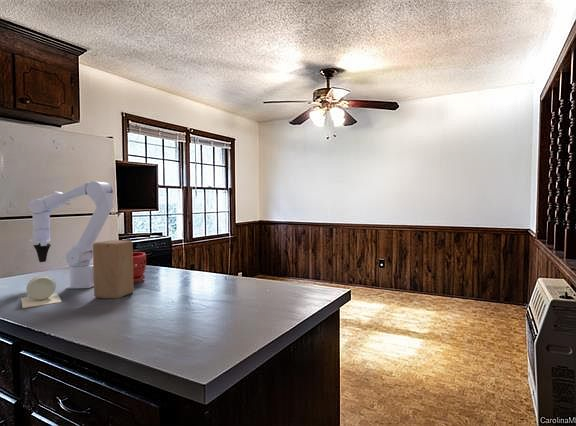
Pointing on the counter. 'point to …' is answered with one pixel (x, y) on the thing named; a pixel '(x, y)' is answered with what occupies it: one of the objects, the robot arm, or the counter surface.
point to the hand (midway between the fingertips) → (42, 261)
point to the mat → (40, 301)
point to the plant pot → (138, 266)
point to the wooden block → (113, 268)
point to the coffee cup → (41, 287)
